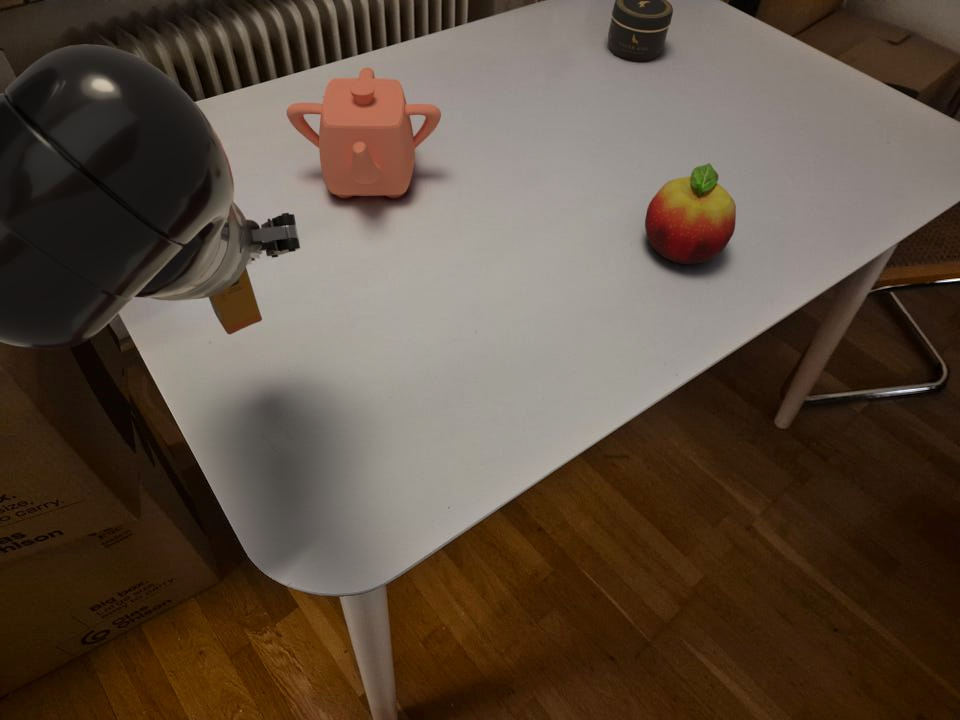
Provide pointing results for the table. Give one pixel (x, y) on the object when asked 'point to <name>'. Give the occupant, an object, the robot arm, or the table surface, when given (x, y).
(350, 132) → the teapot
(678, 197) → the fruit
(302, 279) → the table surface
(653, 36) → the jar
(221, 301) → the supplement box
